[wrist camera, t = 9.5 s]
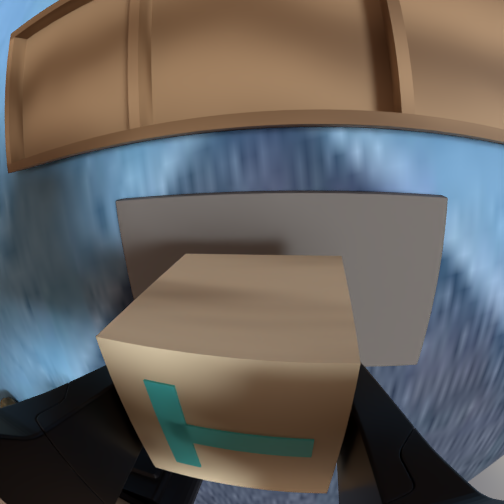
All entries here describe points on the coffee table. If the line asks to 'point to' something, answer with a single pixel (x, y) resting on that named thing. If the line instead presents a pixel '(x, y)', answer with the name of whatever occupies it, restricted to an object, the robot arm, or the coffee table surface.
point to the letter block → (240, 368)
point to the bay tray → (249, 70)
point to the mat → (308, 249)
